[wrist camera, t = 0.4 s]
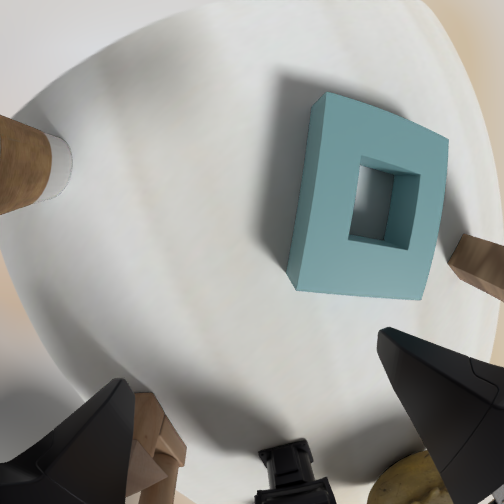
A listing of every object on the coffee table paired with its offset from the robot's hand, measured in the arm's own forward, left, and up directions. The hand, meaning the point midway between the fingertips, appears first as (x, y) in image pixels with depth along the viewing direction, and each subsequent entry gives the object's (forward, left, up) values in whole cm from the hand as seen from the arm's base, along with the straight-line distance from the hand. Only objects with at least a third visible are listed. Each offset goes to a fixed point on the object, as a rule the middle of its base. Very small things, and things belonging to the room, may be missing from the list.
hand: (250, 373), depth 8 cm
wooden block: (-16, +16, -14) cm, 27 cm away
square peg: (-7, -23, -14) cm, 28 cm away
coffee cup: (+14, +15, -14) cm, 25 cm away
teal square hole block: (+2, -11, -14) cm, 18 cm away
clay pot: (-48, -16, -14) cm, 53 cm away
